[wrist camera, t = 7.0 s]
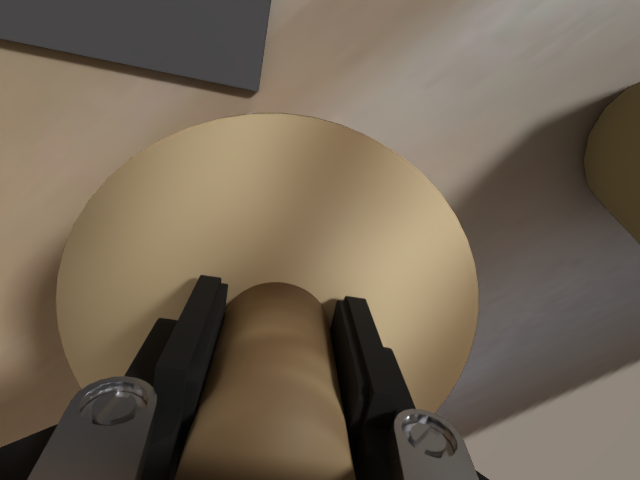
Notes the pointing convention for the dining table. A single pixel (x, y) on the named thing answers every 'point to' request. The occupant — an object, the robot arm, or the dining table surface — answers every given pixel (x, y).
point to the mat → (150, 34)
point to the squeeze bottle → (617, 159)
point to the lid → (270, 282)
